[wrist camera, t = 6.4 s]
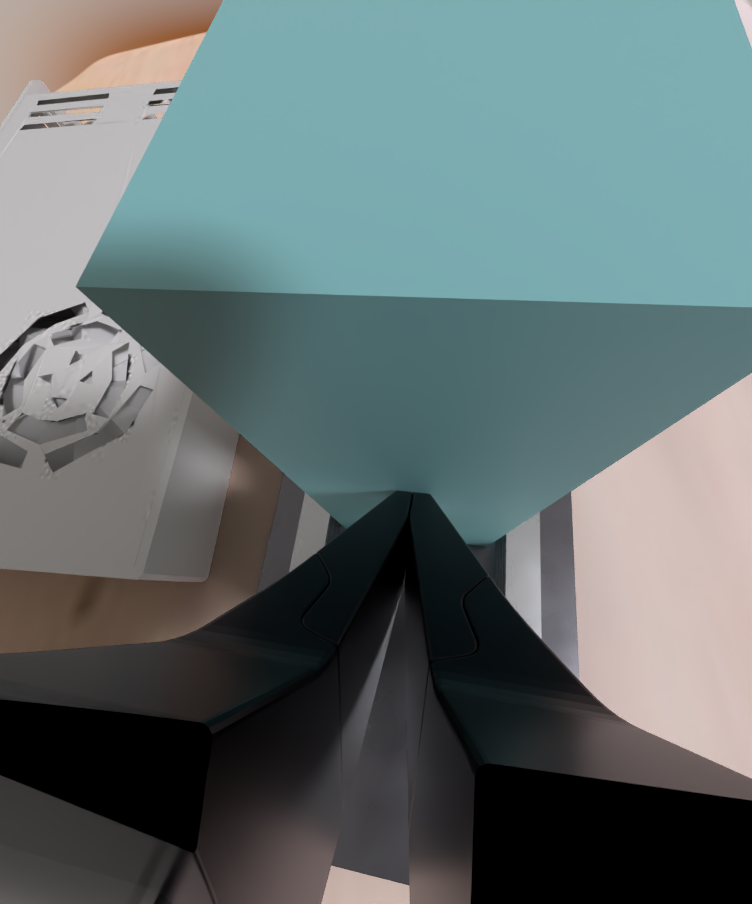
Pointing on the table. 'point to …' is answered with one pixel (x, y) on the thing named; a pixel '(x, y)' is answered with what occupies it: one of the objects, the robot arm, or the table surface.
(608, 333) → the block
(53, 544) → the power supply unit
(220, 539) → the table surface
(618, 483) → the table surface
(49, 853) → the robot arm
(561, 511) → the chute
